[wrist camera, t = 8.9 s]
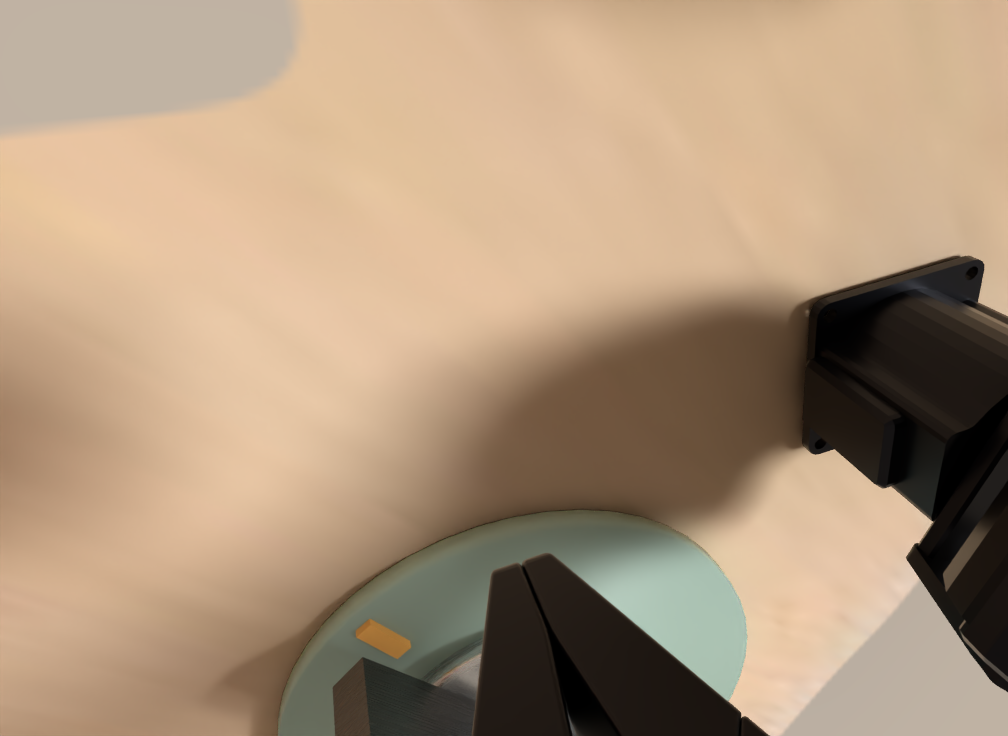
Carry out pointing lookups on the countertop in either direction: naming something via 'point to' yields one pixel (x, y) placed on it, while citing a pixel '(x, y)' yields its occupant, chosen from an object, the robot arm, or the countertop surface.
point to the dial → (409, 698)
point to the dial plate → (464, 594)
